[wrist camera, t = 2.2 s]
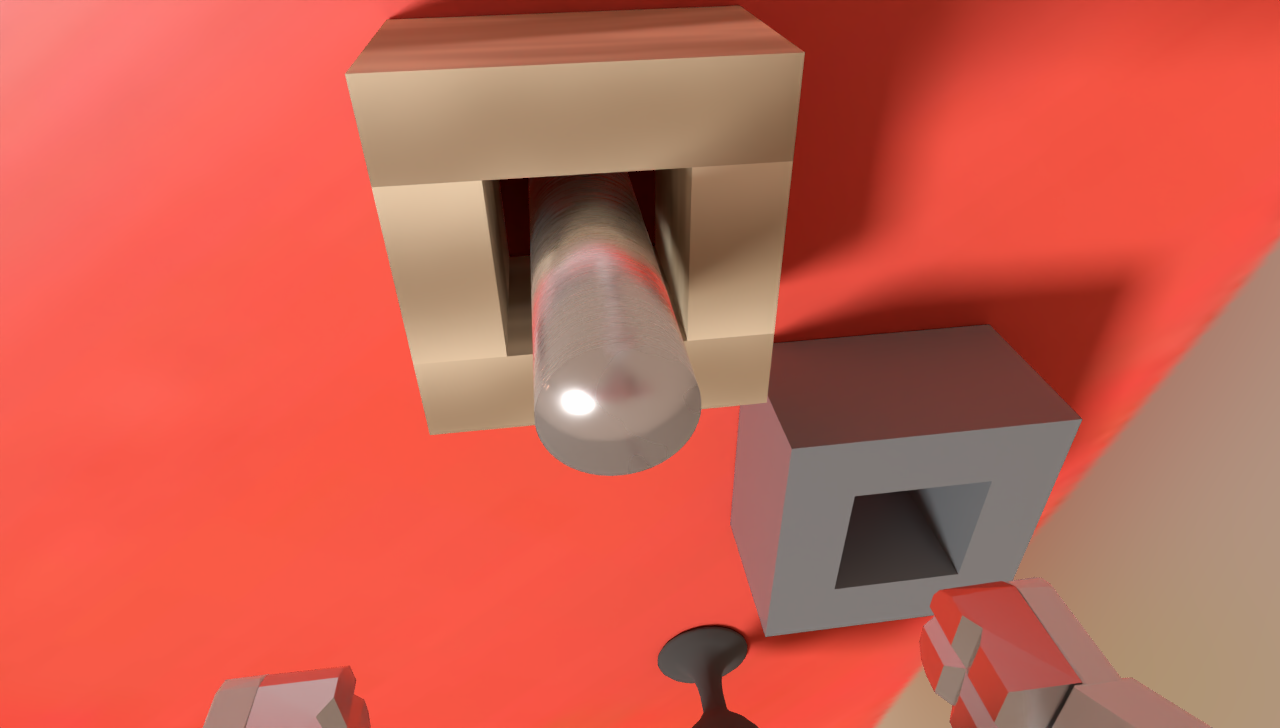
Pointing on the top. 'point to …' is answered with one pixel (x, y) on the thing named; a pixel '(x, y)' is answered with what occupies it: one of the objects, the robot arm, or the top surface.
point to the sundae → (707, 670)
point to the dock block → (891, 473)
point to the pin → (604, 331)
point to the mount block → (571, 145)
